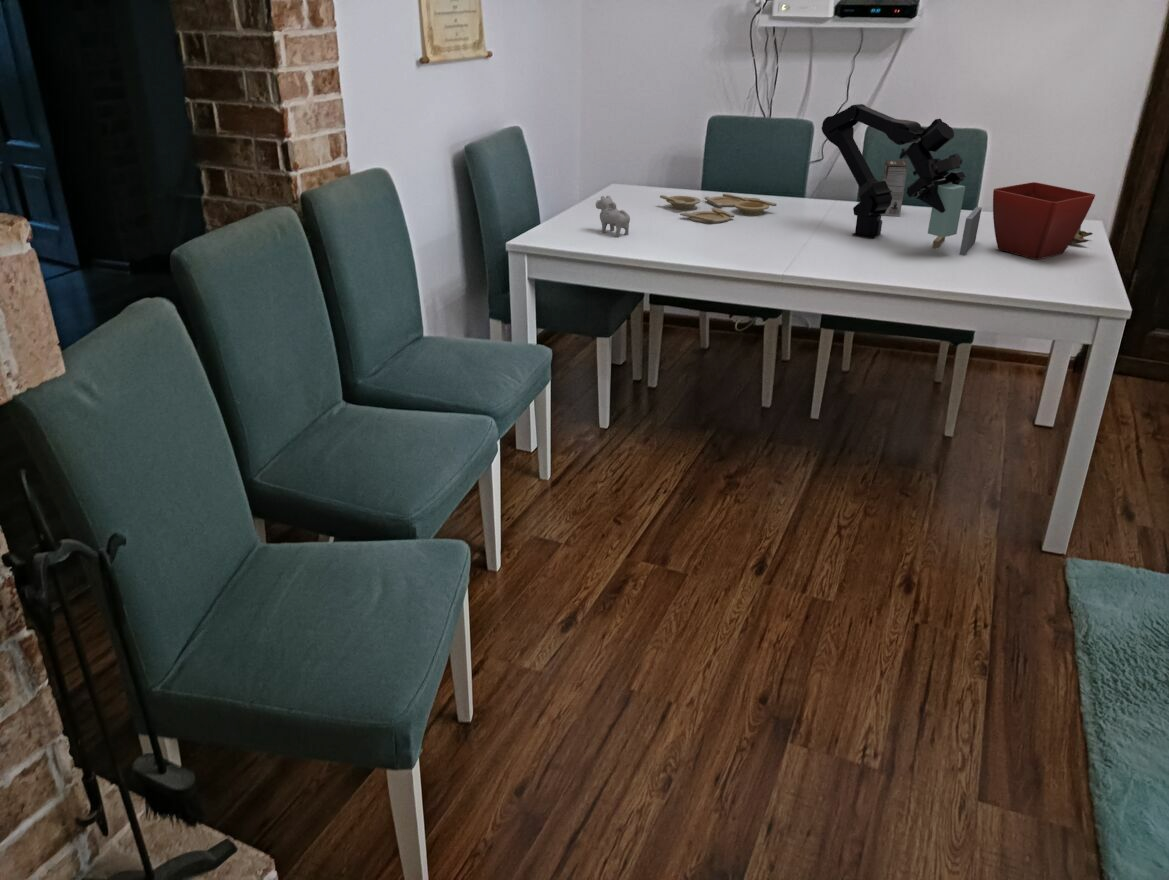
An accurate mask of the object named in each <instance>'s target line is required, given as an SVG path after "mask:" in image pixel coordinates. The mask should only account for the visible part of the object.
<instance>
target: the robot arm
mask: <svg viewBox="0 0 1169 880" xmlns="http://www.w3.org/2000/svg"><path fill="white" fill-rule="evenodd" d="M822 121H823V122H822V124H821V133H822V134H823V135H824V136H825V138H826V139H827V140H828V142H830V143H831V144H833V145H835V147H837V148H838V150H839V152H840V155H842V157H843V159H844V161H845V163H846V165H847V168H848V169H849V171H850V172H851V174H852V177H853V178H854V180H855V182H856V183H857V186H858V187H859V191H858V194H859V196H858V197H859V200H860V201H859V202H858V203H857V204H856V205H855V206H853V208H852V210H853V214H854V216H856V221H855V224H856V225H855V228H854V229H855V230H854V232H853V233H852V236H854V237H862V238H867V239H874V238H876V237H879V236H881V235H882V233H881V232H882V227H883V226H882V225H883V220H882V216H881V215H880V214H885V213H886V210H887V208H888V207H889V206H890V204H891V201H892V196H891V192H892V191H891V190H890V189H889V188H888V185H887V183H886V182H885V181H883V180H880V181H879V180H877V179H876V177H875V176H874V174H873V172H872V171H871V168H870V167H869V164H868V163H867V161H866V159H865V157H864V155H863V154H862V152H861V150H860V149H859V147H858V145H857V142H856V140H855V139H854V126H856V125H857V124H858V123H861V124H863V125H865V126H868V127H871V128H873V129H875V130H877V131H880V132H882V133H883V134H885V135H886V136H887V138H888V140H890V141H891V142H893V144H896V145H898V146H903V145H909V144H910V145H909V146H907V147H905V148H904V147H903V148H901V152H900V154H899V159H900V160H901V159H902V160H903V159H908V160H909V162H910V164H911V166H912V168H913V169H914V171H913V172H912V174H913V176H915V177H916V176H918V178H917V179H916V180H914V181H913V183H911V184H910V185H909V186H908V187H907V188H906V195H907V196H908V198H909V199H913V198H916V199H917V200H920V201H921V202H923V203H925V204H927V205H929V206H930V207H931V208H932V207H933V208H935V209H936V210H938V211H939V212H941V213H943V212H945V208H944V206H943V203H942V201H941V199H940V197H939V195H938V185H943V184H948V183H951V184H956V185H960V183H961V182H963V181H964V180H966V178H967V177H966V174H965V173H964V171H961V170H958V169H960V168H961V167H962V166H961V165H962V164H963V158H962V157H961V155H960V154H959V153H953V154H952V155H949V157H946V158H944V159H941V158H938V157H937V158H935V156H934V155H933V153H932V152H934V153H935V152H936V153H937V152H938V151H940V150H941V149H942V148H944V146H946V144H949V142H950V141H951V140H952V139H954V137H955V132H954V129H953V128H952V126H950V125H949V124H948V123H946V122H945V121H943V120H942V118H935V119H934V120H933V121H932V122H931V124H929V125H928V127H924V126H923V127H922V125H921V124H920V123H919V122H917V121H915V120H909V119H898V118H895V117H892V116H889V115H887V114H884V113H883V112H880V111H878V110H875V109H873V108H871V107H868V106H866V105H865V104H863V103H859V104H857V103H856V104H852V105H850V106H848V107H847V108H845V109H844V110H842V111H839V112H838V113H835V114H834V115H829V116H827V117H825V118H824V119H823V120H822ZM955 169H957V170H956V171H954V170H955ZM952 170H953V171H952ZM950 171H952V172H950ZM918 194H919V195H918Z"/></svg>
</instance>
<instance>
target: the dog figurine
mask: <svg viewBox="0 0 1169 880" xmlns="http://www.w3.org/2000/svg"><path fill="white" fill-rule="evenodd" d="M595 208H596V209H597V210H601V211H600V212H599V220H600V223H601V231H600V234H605V233H606V232H607V231H606V230H607V229H606V228H607V226H608V225H609V231H610V232H614V231H615V229H616V231H615V235H614V237H615V238H620V236H621V230H622V229H624V230H625V231H624V233H623V236H629V228H630V222H631V217H630V215H629V214H628V212H626V211H625V210H623V209H620V210H619V209H618V208H617V203H616V202H614V201H613V199H612V197H611V195H606V196H605V195H602V196H600V199H597V200H596V202H595Z"/></svg>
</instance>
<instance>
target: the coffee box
mask: <svg viewBox="0 0 1169 880" xmlns="http://www.w3.org/2000/svg"><path fill="white" fill-rule="evenodd" d="M908 167H909V166H908V164H907V161H906V160H894V159H893V160H890V159H889V160H885V163H884V170H883V175H882V181H885V182H886V183H887V185H888V188H889V189H890V190H891V191H892V192H891V196H892V201H891V204H890V206H889V207H888V208H887V210H886V213H885V214H880V215H881V217H882V216H883V217H884V216H885V217H901V212H902V204H903V199H904V193H905V187H906V181H907V175H908V174H907V173H908Z"/></svg>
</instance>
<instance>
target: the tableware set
mask: <svg viewBox="0 0 1169 880" xmlns="http://www.w3.org/2000/svg"><path fill="white" fill-rule="evenodd" d="M659 198H660V199H663V200H665V201H666V202H667V203H669V204H671V207H672V208H673V210H677V211H684V212H681V213H679V215H680V216H683V217H686V218H689V219H690V220H692V221H694V222H698V223H707V224H718V223H719V224H721V223H726V222H729V221H730V220H731V218H735V214H733V213H730V212H727V211H725V210H723V209H720V208H721V207H730V208H731V207H733V208H735V209H738V210H739V213H740V214H743V215H747V216H758V215H761V214H762V213H763V212H764V210H768V209H769V208H770V206H771V207H776V206H777V203H776V202H772V201H767V200H762V199H761V198H759V197H745V196H744V197H743V196H737V195H734V194H730V193H722V195H721V196H719V195H718V196H711V197H709V196H704V198H703V199H704V200H705V201H707V203H708V204H711V205H712V206H713V205H714V206H716V207H712V208H711V209H710V211H708V210H703V211H702V210H701V211H694V212H687V211H689V210H693V209H694V207H695V206H696V205H698V204H700V203H701V201H702V200H701V199H700V198H698V197H695V196H689V195H673V196H667V195H664V194H661V195H659ZM685 211H686V212H685Z"/></svg>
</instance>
